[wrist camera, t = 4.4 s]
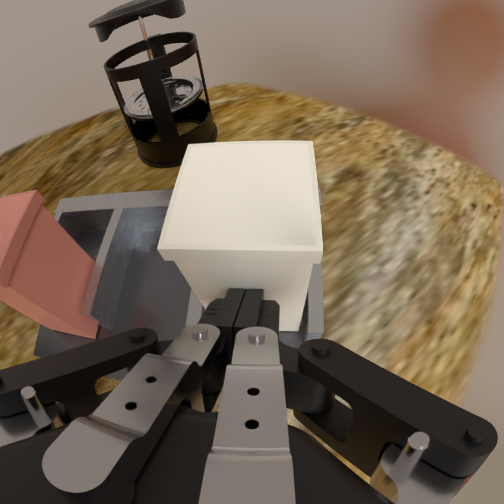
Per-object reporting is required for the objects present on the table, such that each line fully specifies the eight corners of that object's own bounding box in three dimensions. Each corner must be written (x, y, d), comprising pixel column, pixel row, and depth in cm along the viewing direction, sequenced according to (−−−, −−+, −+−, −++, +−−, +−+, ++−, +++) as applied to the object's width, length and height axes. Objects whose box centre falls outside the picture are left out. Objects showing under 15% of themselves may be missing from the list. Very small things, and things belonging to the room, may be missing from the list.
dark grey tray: (317, 400, 17) (328, 397, 13) (44, 359, 19) (9, 344, 15) (314, 220, 24) (319, 182, 20) (85, 222, 26) (62, 194, 22)
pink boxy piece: (96, 342, 18) (-4, 280, 10) (47, 330, 19) (-44, 273, 10) (113, 274, 21) (36, 189, 12) (64, 271, 21) (-10, 199, 13)
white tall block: (301, 334, 18) (323, 251, 9) (214, 331, 18) (157, 248, 10) (301, 257, 20) (312, 141, 12) (224, 256, 21) (188, 144, 12)
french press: (225, 158, 29) (180, -72, 9) (136, 182, 28) (49, -24, 9) (210, 104, 35) (178, -59, 15) (141, 123, 34) (89, -30, 15)
